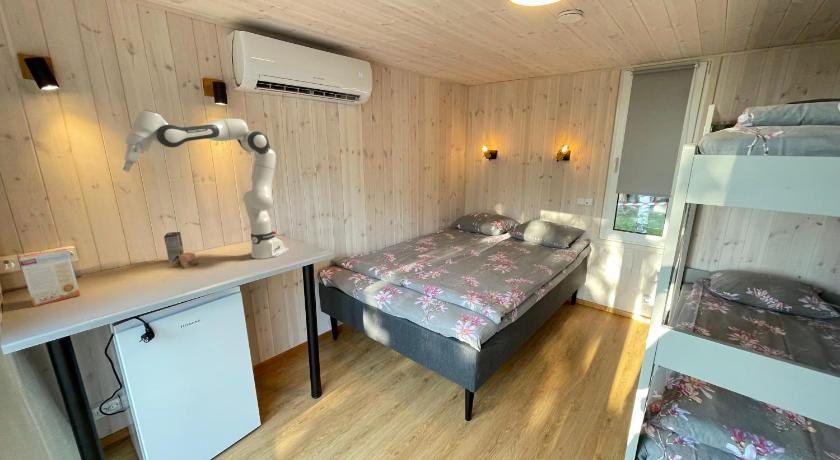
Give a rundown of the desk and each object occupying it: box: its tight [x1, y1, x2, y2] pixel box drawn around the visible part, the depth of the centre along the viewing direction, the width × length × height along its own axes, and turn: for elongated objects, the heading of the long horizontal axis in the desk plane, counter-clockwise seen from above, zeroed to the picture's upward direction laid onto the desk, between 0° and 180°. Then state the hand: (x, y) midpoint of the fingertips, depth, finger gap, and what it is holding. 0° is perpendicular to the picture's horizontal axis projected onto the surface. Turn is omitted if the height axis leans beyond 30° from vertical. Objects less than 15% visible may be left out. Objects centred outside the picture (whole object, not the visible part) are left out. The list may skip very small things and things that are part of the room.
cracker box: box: [18, 248, 81, 307], centre depth 144 cm, size 14×6×21 cm, turn 141°
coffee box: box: [163, 231, 185, 264], centre depth 195 cm, size 9×6×16 cm
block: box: [179, 252, 196, 267], centre depth 187 cm, size 5×5×6 cm
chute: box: [172, 258, 199, 270], centre depth 183 cm, size 15×9×4 cm, turn 163°
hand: (125, 171), depth 155 cm, fingers open, 8 cm apart
